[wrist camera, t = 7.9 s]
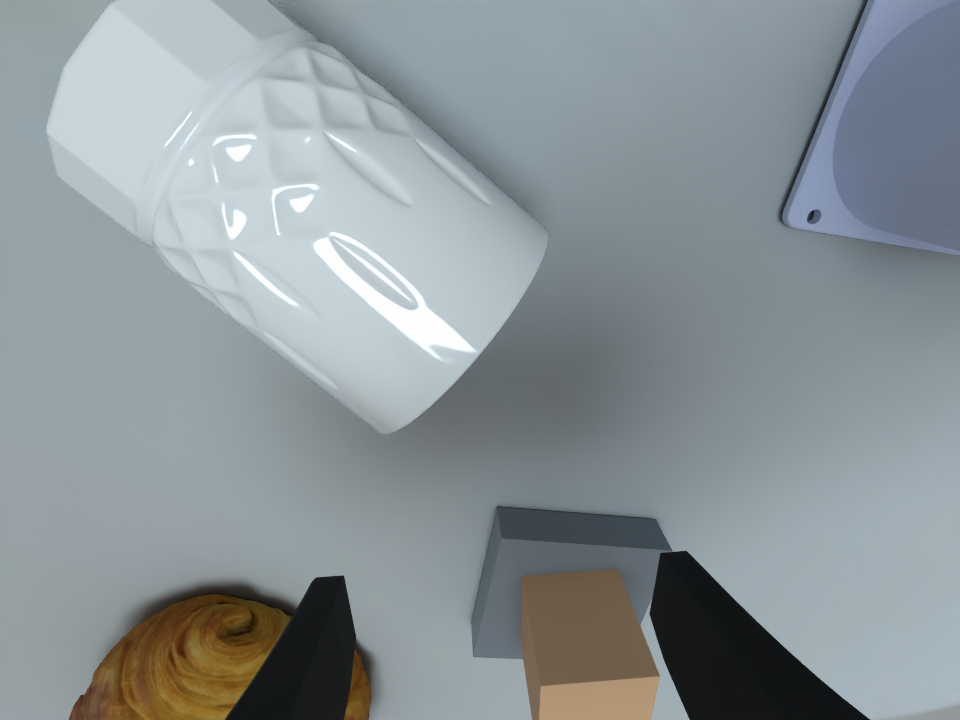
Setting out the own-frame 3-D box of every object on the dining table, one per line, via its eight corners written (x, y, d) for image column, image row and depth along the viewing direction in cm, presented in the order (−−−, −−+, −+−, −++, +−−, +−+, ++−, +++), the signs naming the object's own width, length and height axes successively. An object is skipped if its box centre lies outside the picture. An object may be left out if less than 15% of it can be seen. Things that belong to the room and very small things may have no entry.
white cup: (296, -85, 13) (569, 188, 16) (216, 140, 18) (431, 316, 21) (14, -62, 7) (512, 353, 10) (14, 253, 13) (344, 471, 15)
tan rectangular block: (617, 569, 23) (659, 676, 19) (609, 633, 25) (645, 744, 21) (521, 575, 23) (540, 686, 19) (520, 640, 25) (537, 754, 21)
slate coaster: (655, 519, 25) (672, 550, 23) (612, 628, 28) (623, 663, 26) (496, 506, 24) (501, 538, 22) (471, 621, 27) (473, 657, 25)
